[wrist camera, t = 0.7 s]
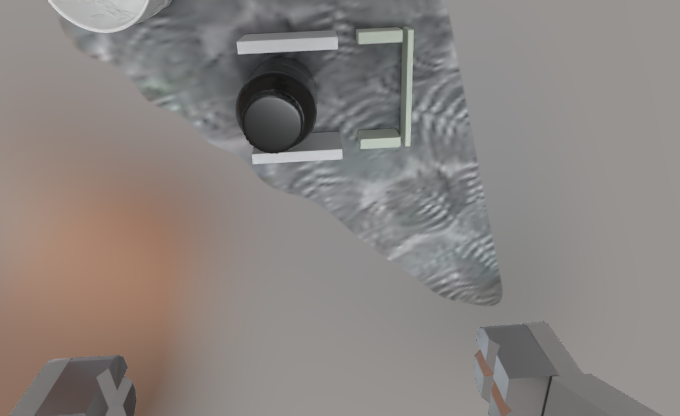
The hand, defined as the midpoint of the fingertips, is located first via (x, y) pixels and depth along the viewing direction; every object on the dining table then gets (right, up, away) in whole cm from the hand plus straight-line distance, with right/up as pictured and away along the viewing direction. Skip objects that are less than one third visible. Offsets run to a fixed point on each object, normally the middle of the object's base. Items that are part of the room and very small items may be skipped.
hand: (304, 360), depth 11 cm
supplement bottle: (-5, +15, +35) cm, 39 cm away
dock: (+5, +16, +35) cm, 39 cm away
